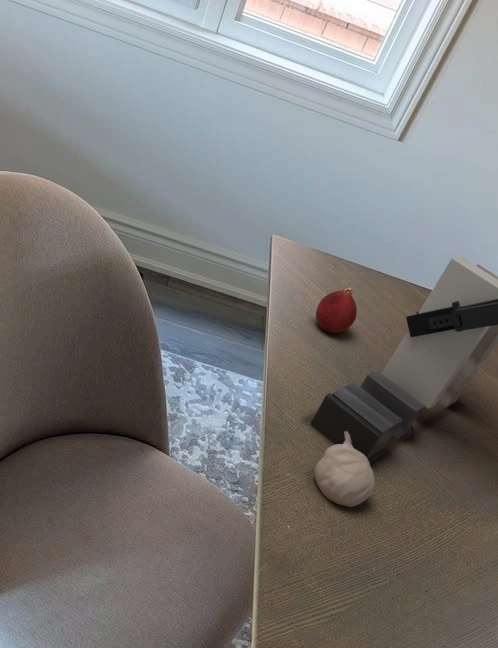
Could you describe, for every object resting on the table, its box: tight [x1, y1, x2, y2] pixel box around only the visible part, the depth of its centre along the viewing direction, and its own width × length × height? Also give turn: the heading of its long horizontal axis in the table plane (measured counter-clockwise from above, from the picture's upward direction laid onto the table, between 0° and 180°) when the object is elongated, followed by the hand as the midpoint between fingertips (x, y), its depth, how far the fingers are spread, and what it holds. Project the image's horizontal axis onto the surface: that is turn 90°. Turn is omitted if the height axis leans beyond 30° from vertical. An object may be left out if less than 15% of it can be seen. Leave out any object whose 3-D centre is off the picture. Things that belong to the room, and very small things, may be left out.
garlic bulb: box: [313, 431, 376, 508], centre depth 87 cm, size 7×6×8 cm
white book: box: [381, 255, 498, 410], centre depth 96 cm, size 2×8×18 cm, turn 43°
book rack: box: [307, 264, 498, 464], centre depth 97 cm, size 26×9×19 cm, turn 133°
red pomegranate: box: [315, 287, 358, 334], centre depth 113 cm, size 6×6×8 cm
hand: (415, 324), depth 98 cm, fingers closed on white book, 2 cm apart
